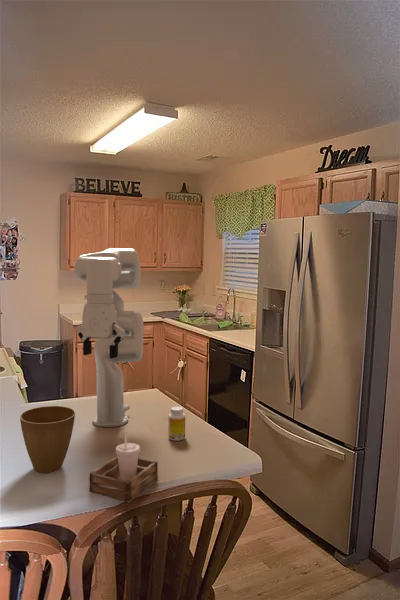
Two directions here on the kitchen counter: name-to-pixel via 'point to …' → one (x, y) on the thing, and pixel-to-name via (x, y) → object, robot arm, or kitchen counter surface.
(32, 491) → the kitchen counter surface
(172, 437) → the supplement bottle
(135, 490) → the crate
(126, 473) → the smoothie
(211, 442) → the kitchen counter surface
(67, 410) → the plant pot
